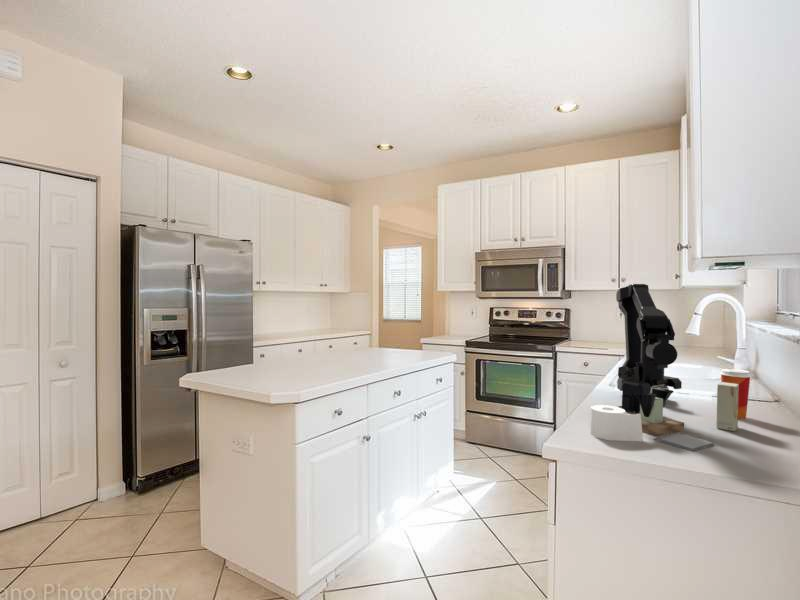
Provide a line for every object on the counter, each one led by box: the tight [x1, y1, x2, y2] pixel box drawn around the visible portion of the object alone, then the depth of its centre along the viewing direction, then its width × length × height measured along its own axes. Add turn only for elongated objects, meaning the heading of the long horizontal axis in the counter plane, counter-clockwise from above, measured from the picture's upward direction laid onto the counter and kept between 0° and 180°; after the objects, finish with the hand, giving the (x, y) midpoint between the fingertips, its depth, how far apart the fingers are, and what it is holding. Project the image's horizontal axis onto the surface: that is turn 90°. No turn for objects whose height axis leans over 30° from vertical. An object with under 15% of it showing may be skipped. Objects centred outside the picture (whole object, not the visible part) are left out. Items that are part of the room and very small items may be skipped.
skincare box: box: [716, 382, 739, 432], centre depth 125 cm, size 6×4×12 cm
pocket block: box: [633, 412, 685, 437], centre depth 124 cm, size 12×12×2 cm
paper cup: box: [719, 368, 752, 420], centre depth 136 cm, size 8×8×14 cm
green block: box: [639, 397, 664, 424], centre depth 124 cm, size 4×4×8 cm
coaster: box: [654, 432, 714, 452], centre depth 112 cm, size 9×9×1 cm
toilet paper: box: [589, 404, 644, 442], centre depth 117 cm, size 8×11×7 cm
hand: (651, 415), depth 124 cm, fingers closed on green block, 4 cm apart
